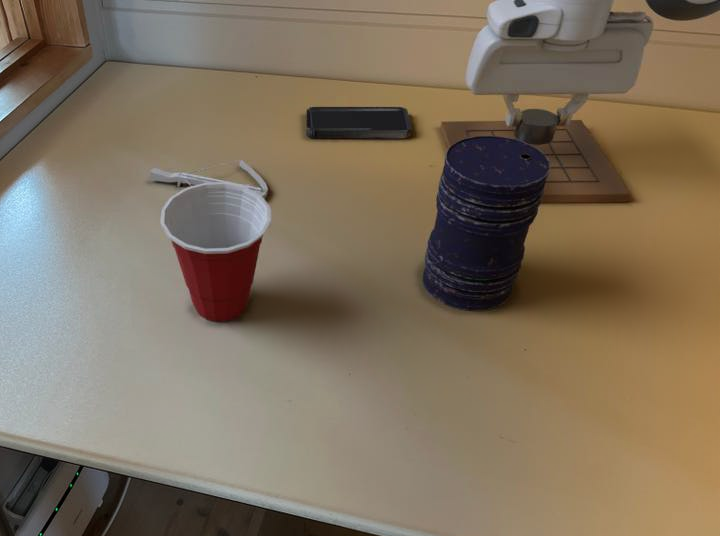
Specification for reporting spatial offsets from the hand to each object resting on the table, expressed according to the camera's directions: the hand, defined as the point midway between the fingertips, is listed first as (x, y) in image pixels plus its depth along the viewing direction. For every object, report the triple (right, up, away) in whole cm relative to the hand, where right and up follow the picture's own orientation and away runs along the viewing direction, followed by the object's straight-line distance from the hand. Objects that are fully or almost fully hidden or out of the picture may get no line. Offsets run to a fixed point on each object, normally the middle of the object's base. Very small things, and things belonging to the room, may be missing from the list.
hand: (536, 124), depth 93 cm
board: (0, -4, +4) cm, 6 cm away
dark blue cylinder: (-14, -22, -14) cm, 30 cm away
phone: (-21, +4, +13) cm, 25 cm away
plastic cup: (-41, -25, -16) cm, 50 cm away
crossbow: (-43, -8, +2) cm, 44 cm away
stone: (0, -1, +1) cm, 2 cm away
